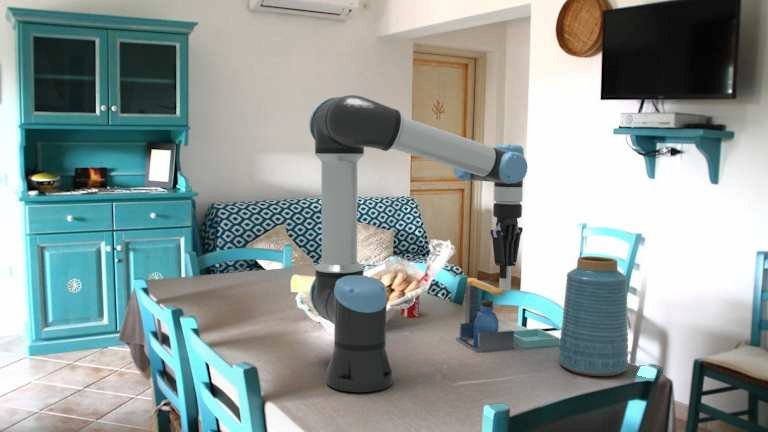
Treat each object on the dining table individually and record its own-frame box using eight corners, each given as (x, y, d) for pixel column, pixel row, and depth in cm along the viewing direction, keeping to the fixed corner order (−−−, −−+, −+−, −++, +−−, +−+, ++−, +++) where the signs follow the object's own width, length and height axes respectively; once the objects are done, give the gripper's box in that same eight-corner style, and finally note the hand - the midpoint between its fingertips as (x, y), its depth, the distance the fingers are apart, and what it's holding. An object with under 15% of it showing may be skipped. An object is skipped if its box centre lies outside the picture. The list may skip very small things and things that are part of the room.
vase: (598, 355, 181) (603, 253, 179) (642, 374, 166) (648, 262, 163) (544, 361, 175) (549, 255, 173) (585, 381, 160) (590, 265, 157)
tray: (559, 347, 188) (559, 338, 188) (524, 350, 184) (525, 340, 184) (538, 337, 198) (538, 328, 198) (504, 339, 194) (505, 331, 194)
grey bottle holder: (513, 349, 185) (515, 294, 183) (475, 352, 181) (477, 297, 180) (484, 334, 200) (486, 283, 199) (449, 337, 196) (450, 285, 195)
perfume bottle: (496, 349, 185) (498, 304, 184) (473, 347, 186) (474, 303, 185) (497, 343, 191) (499, 299, 190) (474, 341, 192) (476, 298, 191)
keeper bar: (505, 295, 181) (505, 289, 181) (494, 295, 180) (494, 289, 180) (475, 282, 197) (475, 277, 197) (464, 283, 196) (465, 278, 196)
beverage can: (413, 322, 213) (414, 283, 212) (396, 319, 215) (397, 281, 214) (422, 318, 218) (423, 280, 217) (405, 316, 220) (406, 278, 219)
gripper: (508, 200, 194) (505, 284, 196) (482, 202, 184) (479, 291, 186) (532, 202, 189) (529, 288, 191) (507, 204, 179) (504, 295, 181)
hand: (504, 289), depth 189 cm, fingers closed
